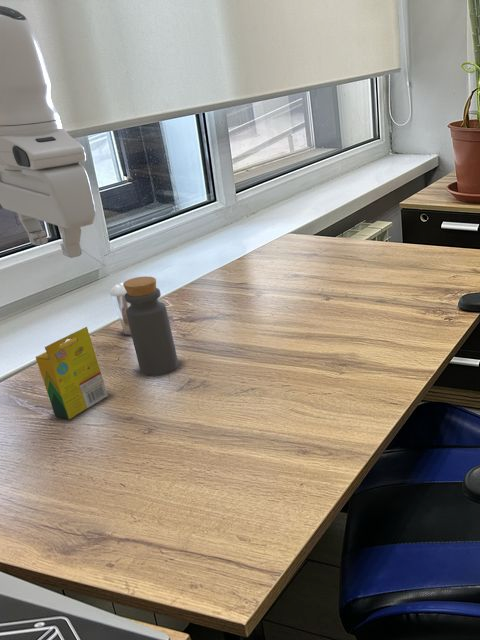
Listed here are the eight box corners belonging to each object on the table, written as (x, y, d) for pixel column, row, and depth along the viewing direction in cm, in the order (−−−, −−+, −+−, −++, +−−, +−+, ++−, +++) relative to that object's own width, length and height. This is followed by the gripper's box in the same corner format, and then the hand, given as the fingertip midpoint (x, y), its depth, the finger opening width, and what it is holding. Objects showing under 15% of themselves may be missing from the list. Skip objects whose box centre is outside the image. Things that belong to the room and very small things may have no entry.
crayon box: (94, 393, 108) (74, 323, 103) (109, 396, 107) (90, 326, 102) (53, 417, 102) (30, 344, 97) (68, 420, 101) (46, 346, 96)
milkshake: (133, 339, 126) (120, 286, 121) (115, 333, 128) (101, 281, 124) (155, 330, 129) (143, 278, 125) (137, 324, 132) (125, 273, 127)
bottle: (184, 367, 115) (166, 280, 109) (149, 379, 112) (127, 290, 105) (169, 356, 119) (150, 272, 113) (134, 368, 115) (112, 281, 109)
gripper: (-35, 141, 93) (-3, 242, 99) (37, 156, 82) (68, 270, 88) (16, 134, 97) (44, 232, 103) (91, 148, 86) (117, 256, 92)
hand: (56, 249), depth 95 cm, fingers open, 8 cm apart
